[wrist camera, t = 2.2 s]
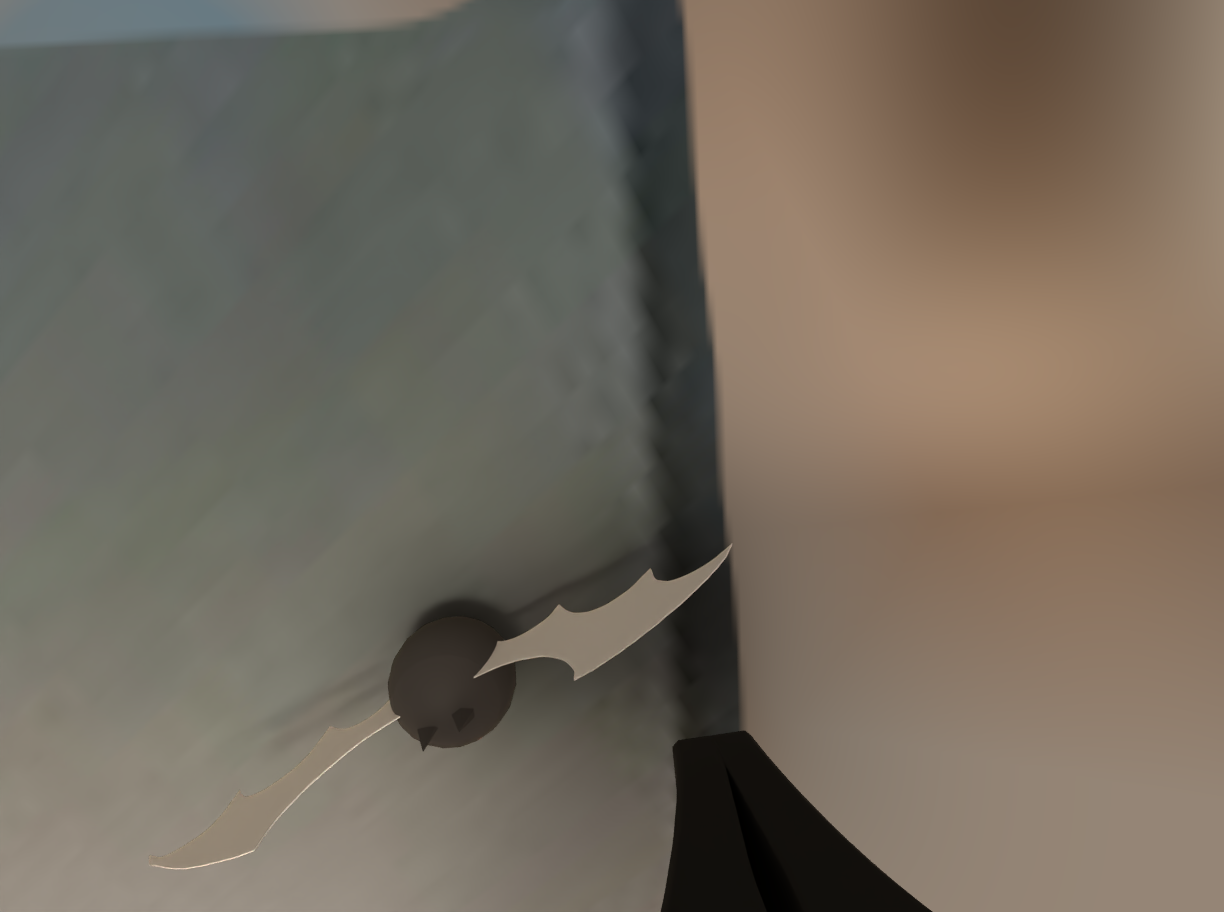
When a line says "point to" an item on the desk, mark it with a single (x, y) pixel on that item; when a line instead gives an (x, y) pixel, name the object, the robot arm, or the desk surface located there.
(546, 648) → the bat toy
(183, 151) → the desk surface
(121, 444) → the desk surface
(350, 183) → the desk surface
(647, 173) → the desk surface
